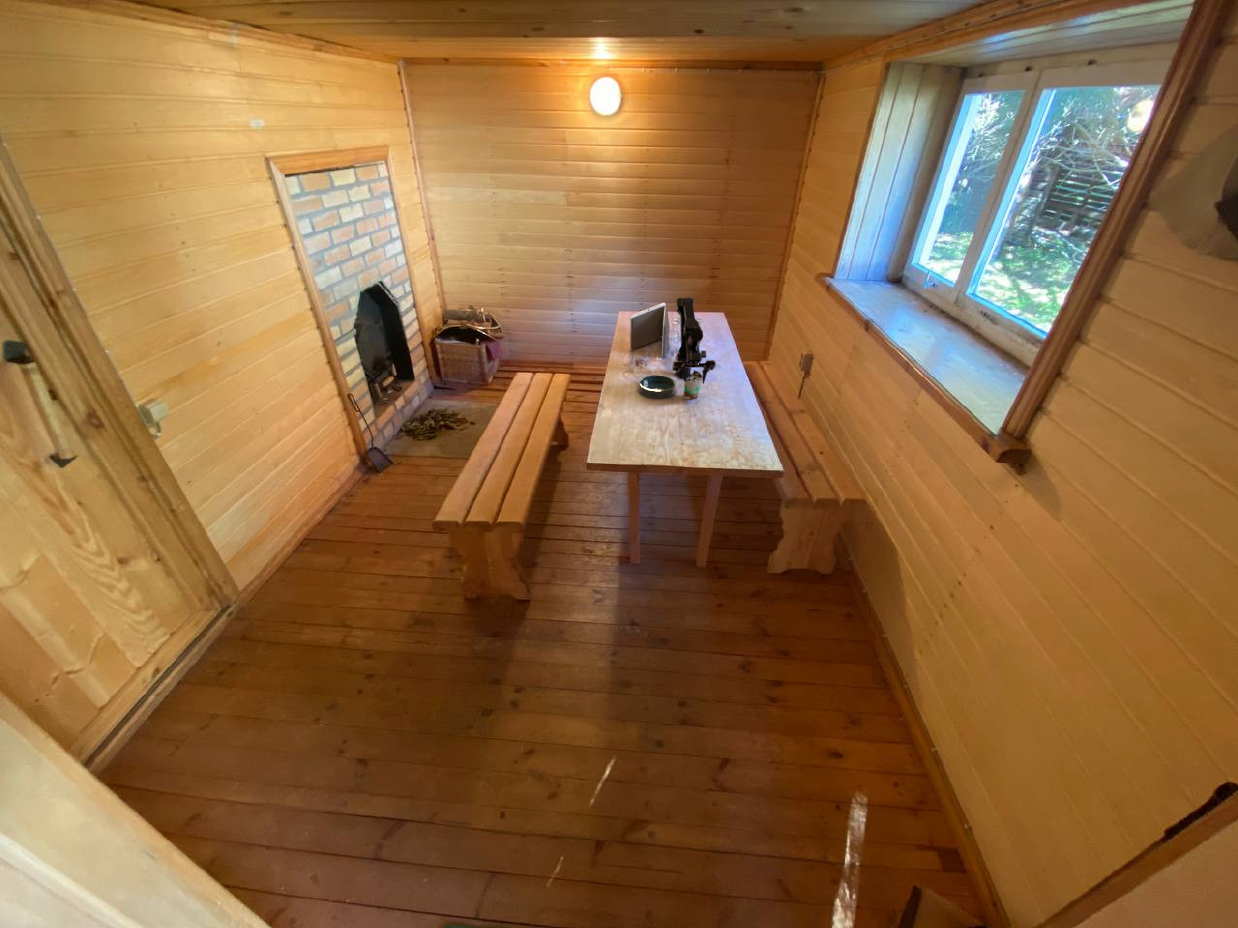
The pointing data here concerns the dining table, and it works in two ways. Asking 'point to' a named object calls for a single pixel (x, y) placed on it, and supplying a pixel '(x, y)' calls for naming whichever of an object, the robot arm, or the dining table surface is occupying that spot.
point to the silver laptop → (650, 327)
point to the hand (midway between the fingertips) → (694, 383)
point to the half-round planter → (692, 386)
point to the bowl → (657, 386)
